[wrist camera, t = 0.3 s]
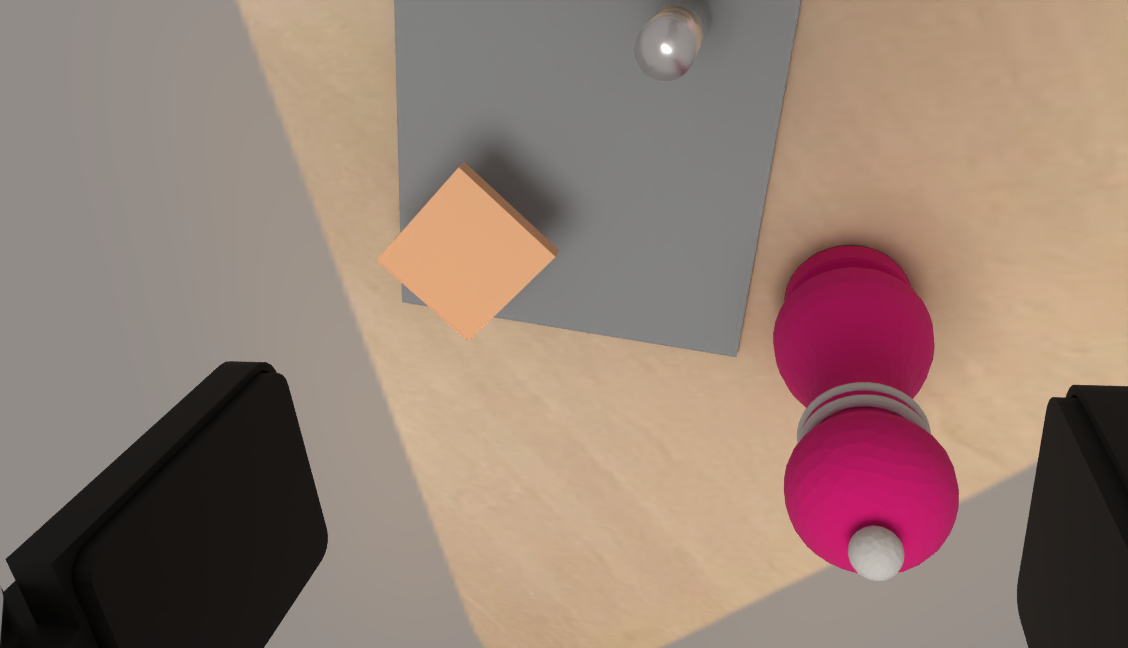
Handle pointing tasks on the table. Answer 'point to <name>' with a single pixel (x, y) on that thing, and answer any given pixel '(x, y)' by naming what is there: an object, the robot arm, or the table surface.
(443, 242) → the keeper
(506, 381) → the table surface
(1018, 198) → the table surface
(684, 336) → the board
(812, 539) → the pepper mill
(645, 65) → the grey rounded rod
